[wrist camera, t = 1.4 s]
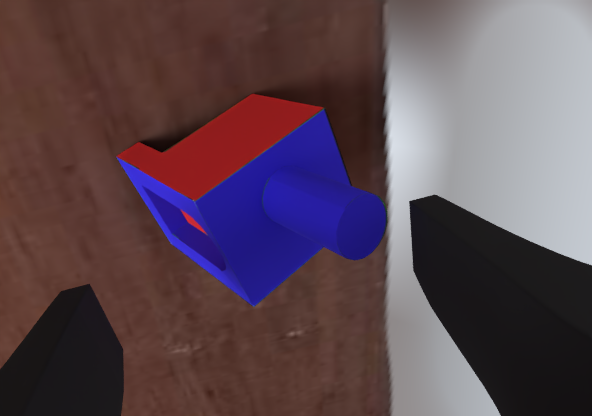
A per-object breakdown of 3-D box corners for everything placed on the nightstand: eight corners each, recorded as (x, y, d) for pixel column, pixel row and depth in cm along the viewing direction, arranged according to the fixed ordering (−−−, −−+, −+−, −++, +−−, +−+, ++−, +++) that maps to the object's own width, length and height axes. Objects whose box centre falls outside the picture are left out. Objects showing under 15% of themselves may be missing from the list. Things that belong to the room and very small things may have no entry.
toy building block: (263, 175, 19) (439, 245, 13) (169, 244, 18) (320, 360, 12) (224, 88, 17) (408, 123, 11) (114, 157, 16) (260, 242, 10)
